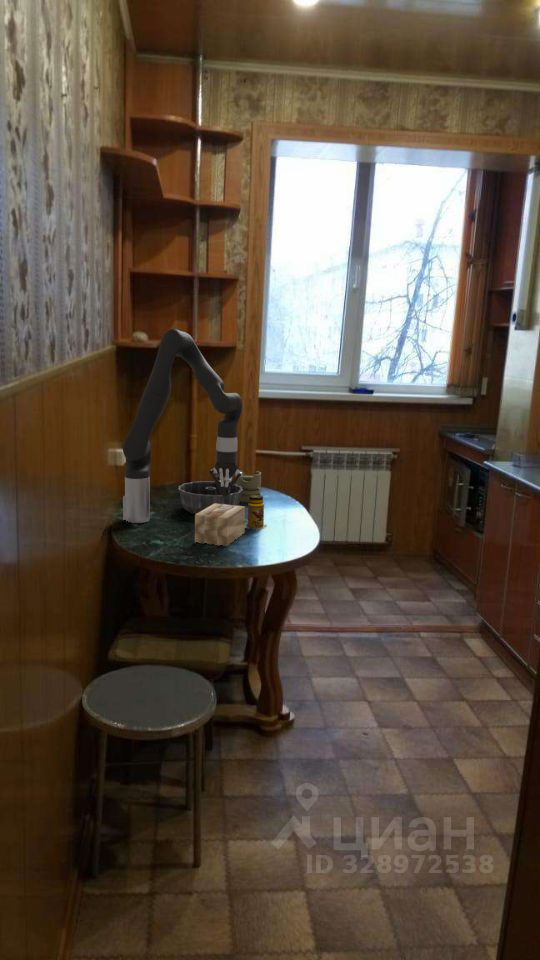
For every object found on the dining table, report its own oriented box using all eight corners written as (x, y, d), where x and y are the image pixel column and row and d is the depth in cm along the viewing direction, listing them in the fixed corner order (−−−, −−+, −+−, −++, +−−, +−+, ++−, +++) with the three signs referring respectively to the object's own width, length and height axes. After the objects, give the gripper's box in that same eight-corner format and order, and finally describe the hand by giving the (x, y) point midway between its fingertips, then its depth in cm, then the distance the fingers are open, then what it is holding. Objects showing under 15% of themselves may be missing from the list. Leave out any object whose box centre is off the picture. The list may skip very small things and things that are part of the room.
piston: (259, 475, 306) (233, 474, 307) (259, 502, 308) (233, 501, 309) (262, 470, 317) (237, 469, 318) (261, 497, 319) (236, 495, 320)
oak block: (194, 542, 248) (195, 514, 246) (214, 529, 265) (214, 503, 263) (226, 546, 245) (227, 518, 243) (244, 532, 261) (245, 506, 259)
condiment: (261, 530, 266) (261, 499, 264) (239, 527, 269) (240, 496, 266) (267, 525, 273) (267, 494, 271) (246, 523, 275) (246, 492, 273)
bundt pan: (253, 509, 298) (254, 485, 296) (221, 522, 275) (221, 497, 273) (200, 500, 309) (200, 478, 307) (165, 513, 286) (165, 489, 284)
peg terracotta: (207, 536, 248) (207, 514, 247) (212, 533, 252) (212, 511, 251) (218, 537, 247) (218, 515, 246) (222, 534, 251) (222, 512, 249)
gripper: (247, 449, 254) (246, 496, 258) (213, 446, 258) (212, 492, 262) (240, 452, 247) (238, 500, 251) (205, 449, 251) (204, 496, 255)
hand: (225, 496), depth 256 cm, fingers closed
